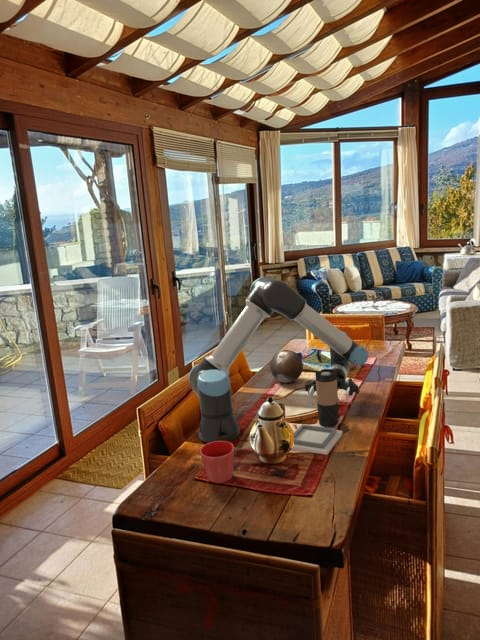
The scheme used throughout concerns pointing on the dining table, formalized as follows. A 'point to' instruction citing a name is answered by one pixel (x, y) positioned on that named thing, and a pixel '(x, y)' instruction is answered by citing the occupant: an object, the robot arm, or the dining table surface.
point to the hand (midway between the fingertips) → (328, 396)
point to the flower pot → (218, 460)
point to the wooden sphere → (286, 366)
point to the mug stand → (315, 439)
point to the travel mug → (327, 397)
